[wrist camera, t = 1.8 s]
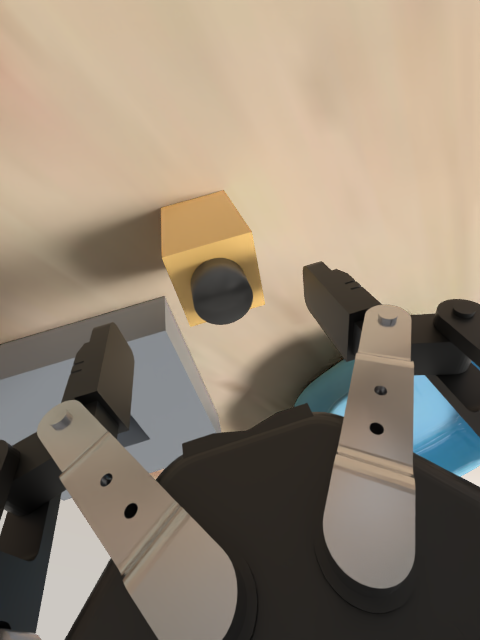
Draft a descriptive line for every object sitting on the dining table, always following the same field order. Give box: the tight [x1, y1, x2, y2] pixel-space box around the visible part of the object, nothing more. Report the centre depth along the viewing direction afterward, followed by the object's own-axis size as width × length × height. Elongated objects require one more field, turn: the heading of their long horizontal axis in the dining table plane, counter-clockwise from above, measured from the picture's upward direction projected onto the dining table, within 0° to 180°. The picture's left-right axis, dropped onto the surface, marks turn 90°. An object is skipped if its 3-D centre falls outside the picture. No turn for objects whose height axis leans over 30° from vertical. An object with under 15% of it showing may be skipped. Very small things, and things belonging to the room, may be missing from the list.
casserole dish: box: [294, 359, 480, 477], centre depth 36 cm, size 37×22×7 cm, turn 40°
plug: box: [161, 190, 265, 327], centre depth 16 cm, size 4×4×8 cm
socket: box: [0, 296, 221, 500], centre depth 25 cm, size 16×16×4 cm
